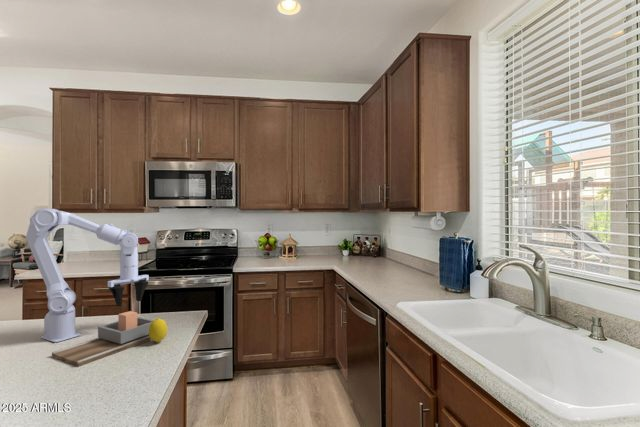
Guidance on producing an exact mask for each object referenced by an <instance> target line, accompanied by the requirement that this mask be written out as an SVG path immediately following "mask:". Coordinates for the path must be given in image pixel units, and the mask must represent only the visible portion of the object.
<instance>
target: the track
mask: <svg viewBox="0 0 640 427" xmlns="http://www.w3.org/2000/svg"><path fill="white" fill-rule="evenodd" d="M149 341H153V340H152V339H151V338H150V337H149V334H148V335H145V336H142V337H140V338H137V339H134V340H131V341H128V342H125V343H124V344H119V343H116V342H112V341H109V340H105V339H102V338H98V337H97V338H94V339H91V340H88V341H85V342H81V343H78V344H75V345H72V346H68V347H65V348H62V349H59V350H55V351H52V352H51V357H52V358H54V359H56V360H60V361H62V362H66V363H67V364H70V365H73V366H76V367H81V366H84V365H87V364H90V363H93V362H95V361H98V360H101V359H103V358H106V357H108V356H111V355H114V354H116V353H120V352H122V351H125V350H127V349H131V348H133V347H135V346H138V345H141V344H145V343H146V342H149Z"/></svg>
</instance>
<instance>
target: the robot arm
mask: <svg viewBox="0 0 640 427" xmlns="http://www.w3.org/2000/svg"><path fill="white" fill-rule="evenodd" d="M69 225H70V226H73V227H77V228H78V229H79V228H80V229H82V230H84V231H85V230H86V231H87V232H89V233H94V234H95V235H96V237H97V239H98V240H102V241H104V242H107V243H110V244H113V245H115V246H117V245H119V247H120V253H119V266H120V267H119V278H117V279H113V280H108V281H107V287H108V289H109V291H110V293H111V294H112V296H113V299H114V301H115V305H116V307H121V306H123V294H124V290H125V287H124V286H123V285H128V284H133V285H134V288H135V300H136V301H137V302H141V301H142V299H143V296H144V294H145V290H146V288H147V286H148V285H149V278H150V276H149V274H141V275H139V253H138V250H139V249H138V243H139V238H138V236H137V235H136V234H135V233H133V232H128V230H127V229H121V228H119V227H116V226H115V225H114V224H113V223H109V224H108V223H104V224H98V223H95V222H93V221H91V220H88V219H86V218H84V217H81V216H79V215H76V214H75V213H71V212H69V211H67V212H66V211H65V210H64V211H63V210H59V209H58V208H47V207H46V208H40V209H38V210H37V211H35V212H34V214H33V215H31V217H30V218H29V225H28V228H27V232H26V235H25V239H26V242H27V244H28V246H29V249H30V250H31V251H30V252H31V253H32V256H33V259H34V261H35V263H36V265H37V267H38V270H39V272H40V275H41V278H42V279H43V282H44V284H45V286H46V296H47V308H48V310H49V311H48V312H47V313H46V315H45V316H44V318H43V323H44V324H43V325H44V326H43V327H44V328H43V335H42V336H41V337H40V338H41V339H43V340H47V341H49V342H53V343H60V342H63V341H65V340H66V341H67V340H68V339H73V338H76V337H80V336H81V335H82V333H79V332H77V331H76V307H75V306H74V305H73V304H74V303H75V302H76V299H77V294H76V292H75V291H74V290H72V289H71V288H70V286H69V284H68V283H67V282H66V281H65V279H64V277H63V274H62V272H61V269H60V266H59V264H58V262H57V260H56V258H55V255H54V253H53V250H52V248H51V245H50V243H49V240H48V237H49V236H50V234H51V233H52V232H53V230H55V229H56V228H57V227H58V226H69Z"/></svg>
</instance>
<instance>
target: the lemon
mask: <svg viewBox="0 0 640 427" xmlns="http://www.w3.org/2000/svg"><path fill="white" fill-rule="evenodd" d="M153 320H154V321H153V322H152V323H151V324H150V327H149V337H150V338H151V339H152V340H151V341H153V342H155V343H157V344H158V343H160V342H161V341H163V340H164V339H165V337H166V336H167V334H168V326H167V325H168V324H167V322H166V321H165V320H164V319H162V318H159V317H158V318H156V319H153Z"/></svg>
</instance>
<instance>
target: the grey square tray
mask: <svg viewBox="0 0 640 427" xmlns="http://www.w3.org/2000/svg"><path fill="white" fill-rule="evenodd" d="M154 320H155V319H150V318H147V317H146V318H145V317H140V316H137V327H134V328H131V329H127V330H124V331H119V322H118V320H116V321H114V322H111V323H106V324H104V325H100V326H97V338H102V339H105V340H109V341H112V342H116V343H119V344H124V343H125V342H128V341H131V340H134V339H137V338H140V337H142V336H145V335H148V334H149V327H150V324H151V323H152V322H153V321H154Z"/></svg>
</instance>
